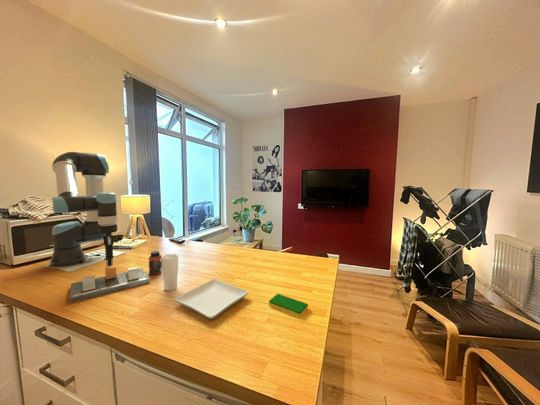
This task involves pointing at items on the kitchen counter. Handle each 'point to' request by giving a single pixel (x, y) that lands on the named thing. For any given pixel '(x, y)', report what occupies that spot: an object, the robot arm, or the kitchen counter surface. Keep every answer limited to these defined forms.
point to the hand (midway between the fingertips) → (109, 271)
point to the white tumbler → (170, 271)
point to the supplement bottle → (155, 263)
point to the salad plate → (211, 298)
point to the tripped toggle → (110, 272)
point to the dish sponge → (288, 305)
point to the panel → (107, 284)
